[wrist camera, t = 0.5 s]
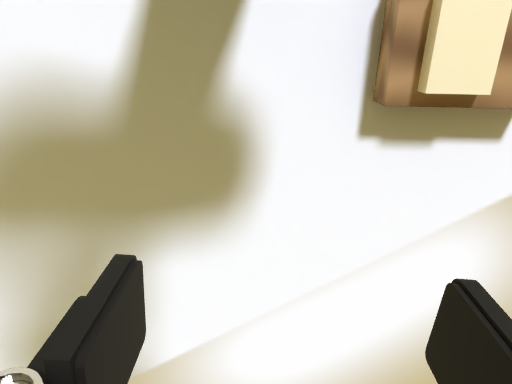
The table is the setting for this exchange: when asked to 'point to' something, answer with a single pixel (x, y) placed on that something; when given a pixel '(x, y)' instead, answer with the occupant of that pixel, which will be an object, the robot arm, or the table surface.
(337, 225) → the table surface
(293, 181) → the table surface
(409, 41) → the brown wooden slab
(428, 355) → the robot arm
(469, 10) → the block
